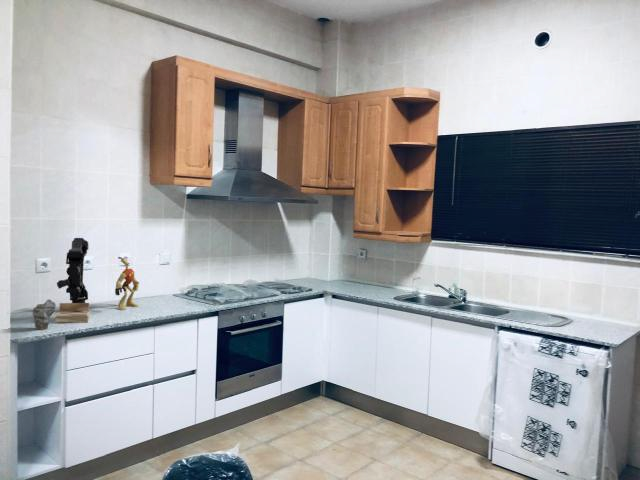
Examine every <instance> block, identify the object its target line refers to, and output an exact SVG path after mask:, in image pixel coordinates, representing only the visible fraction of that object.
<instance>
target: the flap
mask: <svg viewBox="0 0 640 480" xmlns="http://www.w3.org/2000/svg"><path fill="white" fill-rule="evenodd" d="M89 309H90V302H85V303H72V302H64V303H63V302H60V303H59V310H58V311H59V312H75V311H80V312H90V311H89Z"/></svg>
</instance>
